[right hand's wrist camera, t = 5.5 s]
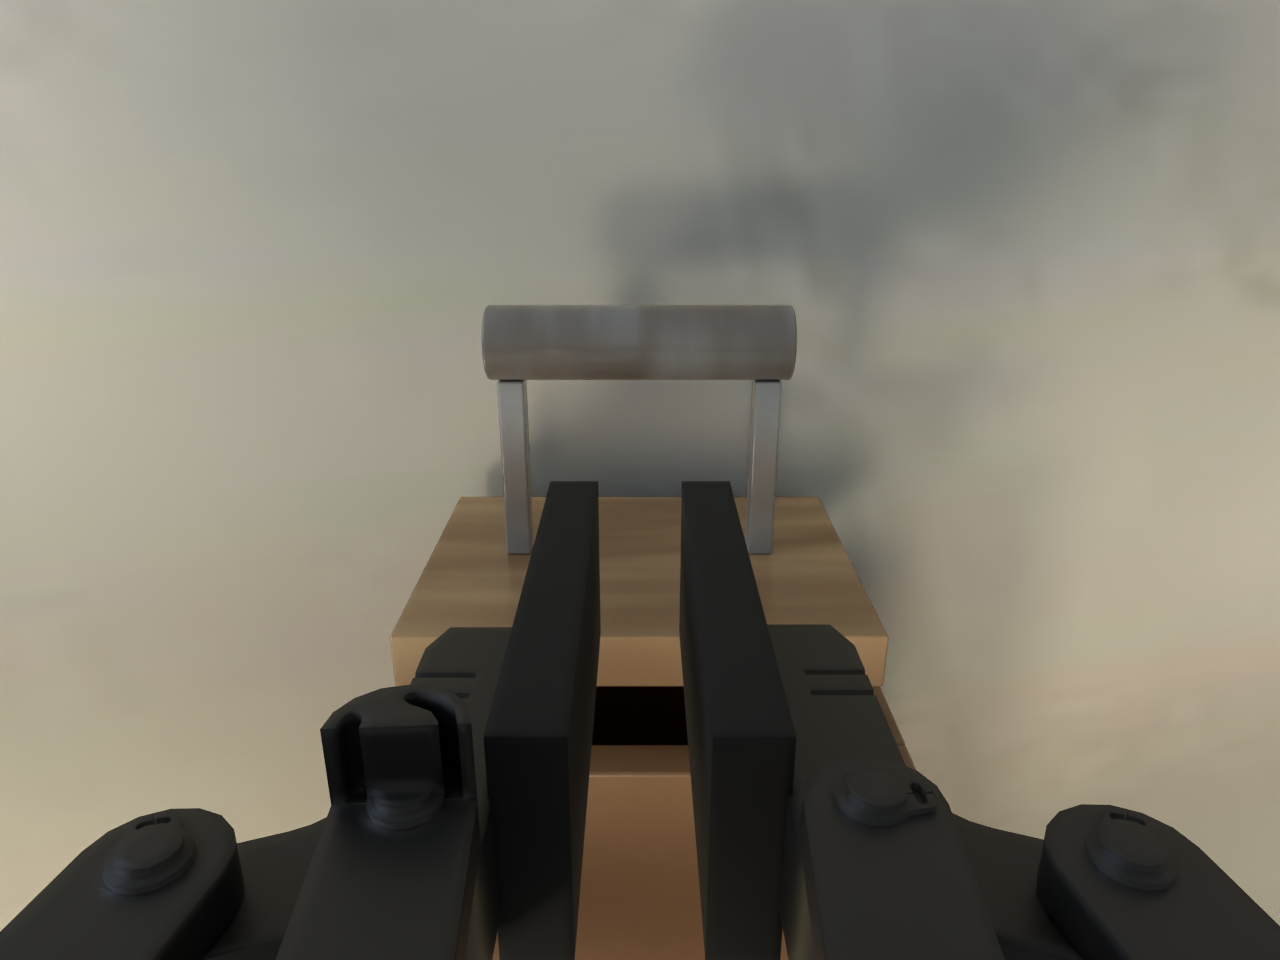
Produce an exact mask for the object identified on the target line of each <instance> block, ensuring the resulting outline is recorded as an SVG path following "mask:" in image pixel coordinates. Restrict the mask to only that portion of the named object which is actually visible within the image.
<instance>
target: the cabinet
mask: <svg viewBox="0 0 1280 960" xmlns="http://www.w3.org/2000/svg"><path fill="white" fill-rule="evenodd" d="M872 687H873V689H874V695H876V697H877V699H878V701H879V704H880V706H881V708H882V711H883V713H884V715H885V718H886V720H887V722H888V725H889V727H890V729H891V732H892V734H893V737H894V739H895V741H896V744H897V746H898V748H899V751H900V753H901V755H902V758H903V760H904V762H905V765H906V766H907V767H909V768H912V769H914V770H916V769H915V766H914V764H913V762H912V760H911V757H910V755H909V753H908V750H907V748H906V747H905V743H904V740H903V738H902V736H901V734H900V731H899V729H898V727H897V725H896V722H895V720H894V718H893V715H892V713H891V711H890V709H889V706H888V704H887V702H886V699H885V697H884V695H883V693H882V690H881V688H880V686H872ZM492 960H500V959H499V945H498V932H497V937H496V942H495V948H494V953H493V959H492ZM575 960H705V950H704V937H703V925H702V912H701V900H700V887H699V875H698V862H697V849H696V837H695V824H694V812H693V799H692V787H691V774H690V762H689V749H688V745H592V749H591V761H590V774H589V786H588V799H587V812H586V824H585V837H584V849H583V862H582V874H581V887H580V899H579V912H578V925H577V937H576V950H575ZM780 960H788V954H787V949H786V943H785V938H784V932H783V931H782V945H781V959H780Z"/></svg>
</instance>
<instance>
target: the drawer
mask: <svg viewBox="0 0 1280 960" xmlns="http://www.w3.org/2000/svg"><path fill="white" fill-rule="evenodd" d="M796 351H797V325H796V316H795V311H794V309H793V307H792V306H791V305H488V306H486V308H485V311H484V314H483V321H482V355H483V364H484V369H485V373H486V376H487V378H488V379H490V380H499V381H498V384H497V388H498V406H499V424H500V441H501V459H502V477H503V494H504V497H461V498H460V499H459V501H458V503H457V505H456V507H455V509H454V511H453V513H452V515H451V517H450V519H449V521H448V523H447V525H446V527H445V529H444V531H443V533H442V535H441V537H440V539H439V541H438V543H437V545H436V547H435V549H434V551H433V553H432V555H431V557H430V559H429V561H428V563H427V565H426V567H425V569H424V571H423V573H422V575H421V577H420V579H419V581H418V583H417V585H416V587H415V589H414V591H413V593H412V595H411V596H410V598H409V600H408V602H407V604H406V606H405V608H404V610H403V612H402V614H401V616H400V618H399V620H398V622H397V624H396V626H395V628H394V630H393V632H392V634H391V636H390V640H391V649H392V658H393V667H394V676H395V684H396V686H403V685H410V684H411V681H412V679H413V678H415V672H416V670H417V667H418V665H419V662H420V660H421V658H422V655H423V653H424V651H425V648H426V647H428V646H429V645H430V644H431V643H432V642H434V641H435V640H436V639H437V638H438V637H439V636H441V635H442V634H443V633H444V632H445V631H447V630H448V629H449V628H450V627H512V626H513V622H514V618H515V614H516V611H517V607H518V603H519V599H520V595H521V591H522V588H523V584H524V580H525V576H526V572H527V569H528V565H529V561H530V557H531V553H532V550H533V546H534V542H535V538H536V534H537V530H538V527H539V523H540V519H541V515H542V511H543V508H544V504H545V500H546V497H532V493H531V471H530V448H529V426H528V404H527V382H526V380H752V399H751V421H750V444H749V466H748V489H747V497H734V500H735V504H736V508H737V511H738V515H739V519H740V523H741V527H742V531H743V534H744V538H745V542H746V546H747V550H748V553H749V557H750V561H751V565H752V569H753V572H754V576H755V580H756V584H757V588H758V592H759V595H760V599H761V603H762V607H763V611H764V614H765V618H766V622H767V624H830V625H831V626H832V627H833V628H835V629H836V630H837V631H838V632H839V633H841V634H842V635H843V636H844V637H845V638H847V639H848V640H849V641H850V642H851V643H853V644H854V645H855V647H856V649H857V652H858V654H859V656H860V659H861V661H862V664H863V666H864V668H865V675H868V678H869V680H870V682H871V685H872V686H883V682H884V673H885V664H886V655H887V645H888V635H887V633H886V631H885V629H884V627H883V625H882V623H881V621H880V619H879V617H878V615H877V613H876V611H875V609H874V607H873V605H872V603H871V601H870V599H869V597H868V595H867V593H866V591H865V589H864V587H863V585H862V583H861V581H860V579H859V577H858V575H857V573H856V571H855V569H854V567H853V565H852V563H851V561H850V559H849V557H848V555H847V553H846V551H845V549H844V547H843V545H842V543H841V541H840V539H839V537H838V535H837V533H836V531H835V529H834V527H833V525H832V523H831V521H830V519H829V517H828V515H827V513H826V511H825V509H824V507H823V505H822V503H821V501H820V499H819V497H775V492H776V474H777V456H778V438H779V420H780V403H781V385H782V384H781V382H780V380H789V379H791V377H792V375H793V372H794V368H795V361H796ZM681 501H682V497H598V502H599V560H600V617H601V636H600V648H599V661H598V673H597V686H596V699H595V711H594V724H593V736H592V745H688V736H687V724H686V711H685V699H684V686H683V674H682V661H681V649H680V636H679V616H680V559H681Z"/></svg>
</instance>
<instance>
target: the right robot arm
mask: <svg viewBox="0 0 1280 960" xmlns="http://www.w3.org/2000/svg"><path fill="white" fill-rule="evenodd" d="M600 636H601V617H600V560H599V502H598V482H550V485H549V489H548V492H547V496H546V500H545V504H544V508H543V511H542V515H541V519H540V523H539V527H538V530H537V534H536V538H535V542H534V546H533V550H532V553H531V557H530V561H529V565H528V569H527V572H526V576H525V580H524V584H523V588H522V591H521V595H520V599H519V603H518V607H517V611H516V614H515V618H514V622H513V626H512V627H450V628H449V629H448V630H447V631H445V632H444V633H443V634H442V635H441V636H439V637H438V638H437V639H436V640H435V641H434V642H432V643H431V644H430V645H429V646H428V647H426V648H425V651H424V653H423V655H422V658H421V660H420V662H419V665H418V667H417V670H416V672H415V678H413V679H412V681H411V684H410V685H403V686H396V687H389V688H382V689H379V690H376V691H373V692H370V693H368V694H365V695H362V696H359V697H357V698H354V699H353V700H351V701H350V702H348V703H347V704H345V705H344V706H342V707H341V708H339V709H338V710H336V711H335V712H333V713H332V715H331V716H330V717H329V719H328V720H327V721H326V723H325V724H324V725H323V727H322V728H321V729H320V731H321V738H322V745H323V752H324V758H325V765H326V772H327V779H328V786H329V792H330V799H331V808H330V811H329V813H328V816H327V817H326V818H324V819H322V820H320V821H318V822H316V823H314V824H312V825H309V826H305V827H302V828H299V829H296V830H292V831H289V832H285V833H281V834H276V835H272V836H268V837H263V838H259V839H255V840H250V841H246V842H242V843H236V838H235V832H234V829H233V828H232V827H231V826H230V825H229V823H228V822H227V821H226V820H225V819H224V818H223V817H222V816H221V815H218V814H215V813H212V812H209V811H206V810H203V809H200V808H195V809H169V810H165V811H161V812H157V813H153V814H149V815H145V816H141V817H138V818H136V819H134V820H132V821H130V822H127V823H125V824H123V825H121V826H119V827H117V828H115V829H113V830H111V831H109V832H107V833H106V834H104V835H103V836H102V837H101V838H99V839H98V840H97V841H95V842H94V843H93V844H91V845H90V846H89V847H87V848H86V849H85V850H84V851H82V852H81V853H80V854H79V855H78V856H77V857H76V858H75V859H74V860H73V861H72V862H71V863H70V864H69V865H68V866H67V867H66V868H65V869H64V870H63V871H62V872H61V873H60V874H59V875H58V876H57V877H56V878H55V879H54V880H53V881H52V882H51V883H50V884H49V885H48V886H47V887H46V888H44V889H43V890H42V891H41V892H40V893H39V894H38V895H37V896H36V897H35V898H34V899H33V900H32V901H31V902H30V903H29V904H28V905H27V906H26V907H25V908H24V909H23V910H22V911H21V912H20V913H19V914H18V915H17V916H16V917H15V918H14V919H13V920H12V921H11V922H10V923H9V924H8V925H7V926H6V927H5V928H4V929H3V930H2V931H1V932H0V960H492V959H493V953H494V948H495V942H496V937H497V932H498V945H499V959H500V960H575V950H576V937H577V925H578V912H579V899H580V887H581V874H582V862H583V849H584V837H585V824H586V812H587V799H588V786H589V774H590V761H591V749H592V736H593V724H594V711H595V699H596V686H597V673H598V661H599V648H600ZM679 636H680V649H681V661H682V674H683V686H684V699H685V711H686V724H687V736H688V749H689V762H690V774H691V787H692V799H693V812H694V824H695V837H696V849H697V862H698V875H699V887H700V900H701V912H702V925H703V937H704V950H705V960H780V959H781V945H782V931H783V932H784V938H785V943H786V949H787V954H788V960H1280V926H1279V925H1278V924H1277V923H1276V922H1275V921H1274V920H1273V919H1272V918H1271V917H1270V916H1269V915H1268V914H1267V913H1266V912H1265V911H1264V910H1263V909H1262V908H1261V907H1260V906H1258V905H1257V904H1256V903H1255V902H1254V901H1253V900H1252V899H1251V898H1250V897H1249V896H1248V895H1247V894H1246V893H1245V892H1244V891H1243V890H1242V889H1241V888H1240V887H1239V886H1238V885H1237V884H1236V883H1235V882H1234V881H1233V880H1232V879H1231V878H1230V877H1229V876H1228V875H1227V874H1226V873H1225V872H1224V871H1223V870H1222V869H1221V868H1220V867H1218V866H1217V865H1216V864H1215V863H1214V862H1213V861H1212V860H1211V859H1210V858H1209V857H1208V856H1207V855H1206V854H1205V853H1204V852H1203V851H1202V850H1201V849H1200V848H1199V847H1198V846H1196V845H1195V844H1194V843H1192V842H1191V841H1190V840H1188V839H1187V838H1186V837H1184V836H1183V835H1182V834H1181V833H1179V832H1178V831H1177V830H1175V829H1174V828H1172V827H1170V826H1168V825H1166V824H1164V823H1162V822H1160V821H1158V820H1156V819H1153V818H1151V817H1149V816H1147V815H1145V814H1143V813H1140V812H1136V811H1132V810H1128V809H1124V808H1120V807H1116V806H1112V805H1078V806H1075V807H1072V808H1069V809H1066V810H1063V811H1059V812H1058V814H1057V815H1056V816H1055V817H1054V818H1053V819H1052V820H1051V821H1050V823H1049V824H1048V825H1047V827H1046V832H1045V837H1044V840H1042V839H1038V838H1033V837H1029V836H1025V835H1020V834H1016V833H1011V832H1007V831H1003V830H998V829H994V828H990V827H987V826H984V825H980V824H977V823H974V822H971V821H968V820H966V819H964V818H962V817H960V816H957V815H955V814H953V813H952V812H951V809H950V807H949V804H948V803H947V801H946V799H945V798H944V796H943V795H942V793H941V792H940V790H939V789H938V787H937V786H936V785H935V784H934V783H932V782H931V781H930V780H928V779H927V778H926V777H924V776H923V775H922V774H920V773H919V772H918V771H916V770H914V769H912V768H909V767H907V766H906V765H905V762H904V760H903V758H902V755H901V753H900V751H899V748H898V746H897V744H896V741H895V739H894V737H893V734H892V732H891V729H890V727H889V725H888V722H887V720H886V718H885V715H884V713H883V711H882V708H881V706H880V704H879V701H878V699H877V697H876V695H874V689H873V687H872V685H871V682H870V680H869V678H868V675H865V668H864V666H863V664H862V661H861V659H860V656H859V654H858V652H857V649H856V647H855V645H854V644H853V643H851V642H850V641H849V640H848V639H847V638H845V637H844V636H843V635H842V634H841V633H839V632H838V631H837V630H836V629H835V628H833V627H832V626H831V625H830V624H767V622H766V618H765V614H764V611H763V607H762V603H761V599H760V595H759V592H758V588H757V584H756V580H755V576H754V572H753V569H752V565H751V561H750V557H749V553H748V550H747V546H746V542H745V538H744V534H743V531H742V527H741V523H740V519H739V515H738V511H737V508H736V504H735V500H734V496H733V492H732V489H731V485H730V482H682V501H681V559H680V616H679Z"/></svg>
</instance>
